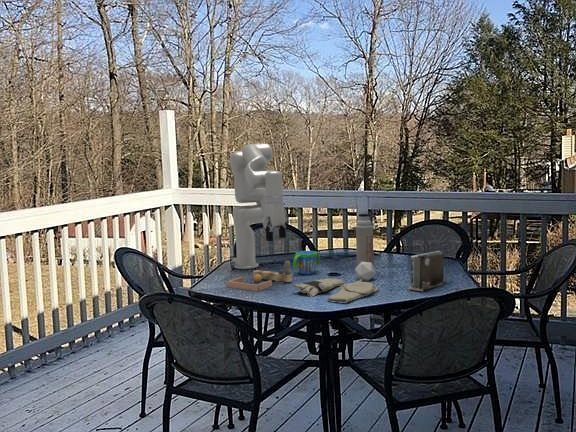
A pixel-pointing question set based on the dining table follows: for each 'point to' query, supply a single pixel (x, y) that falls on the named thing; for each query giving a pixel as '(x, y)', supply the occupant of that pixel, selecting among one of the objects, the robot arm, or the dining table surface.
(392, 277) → the dining table surface
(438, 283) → the radio
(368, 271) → the die
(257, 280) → the ball
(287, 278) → the lever
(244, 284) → the open frame
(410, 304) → the dining table surface
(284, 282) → the pivot base
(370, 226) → the thermos bottle
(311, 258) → the snack cup
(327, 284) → the pair of gloves
